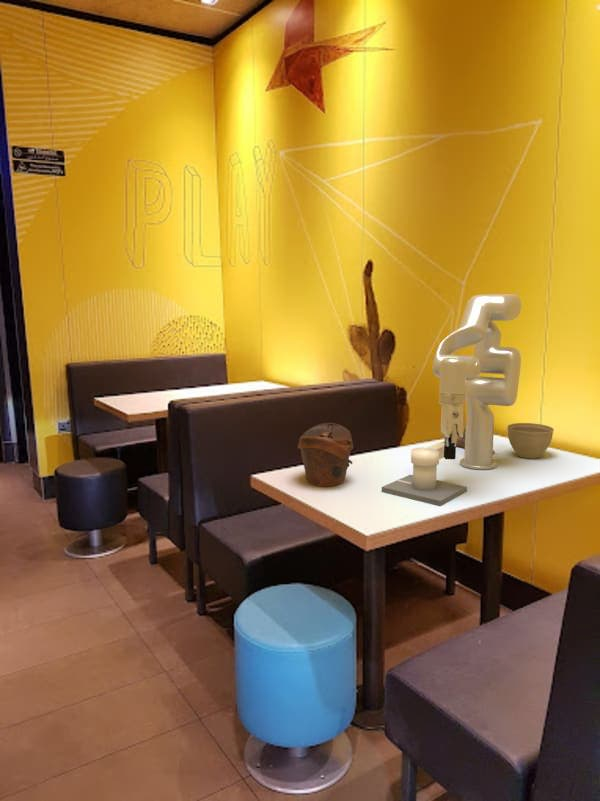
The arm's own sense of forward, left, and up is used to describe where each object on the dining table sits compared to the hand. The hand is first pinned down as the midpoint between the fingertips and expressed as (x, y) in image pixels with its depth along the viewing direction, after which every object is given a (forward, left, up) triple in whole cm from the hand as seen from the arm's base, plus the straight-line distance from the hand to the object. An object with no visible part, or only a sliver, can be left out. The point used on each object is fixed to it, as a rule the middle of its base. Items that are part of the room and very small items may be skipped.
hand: (449, 458), depth 181 cm
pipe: (-54, -22, -11) cm, 59 cm away
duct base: (+4, -6, -11) cm, 13 cm away
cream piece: (0, -6, -2) cm, 6 cm away
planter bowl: (-58, +3, -11) cm, 59 cm away
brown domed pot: (+15, -36, -11) cm, 41 cm away
